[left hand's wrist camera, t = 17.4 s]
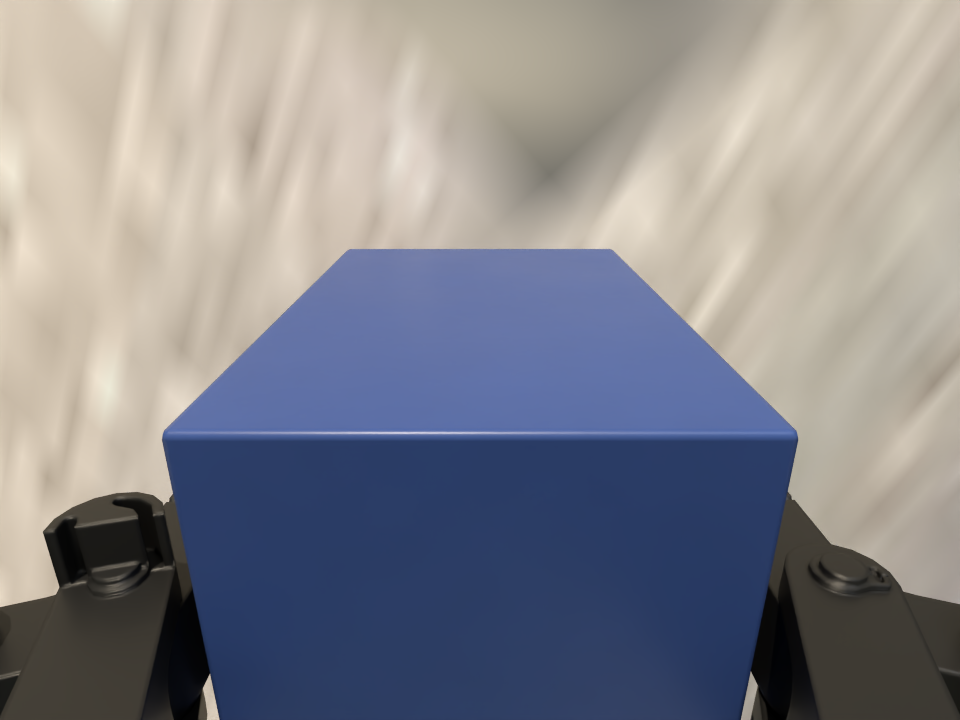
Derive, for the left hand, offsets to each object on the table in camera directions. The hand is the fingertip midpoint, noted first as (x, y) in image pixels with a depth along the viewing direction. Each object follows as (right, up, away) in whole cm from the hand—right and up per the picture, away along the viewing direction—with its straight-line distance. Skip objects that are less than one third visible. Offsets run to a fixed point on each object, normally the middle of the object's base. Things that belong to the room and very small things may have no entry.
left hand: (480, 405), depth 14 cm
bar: (0, -7, +3) cm, 8 cm away
